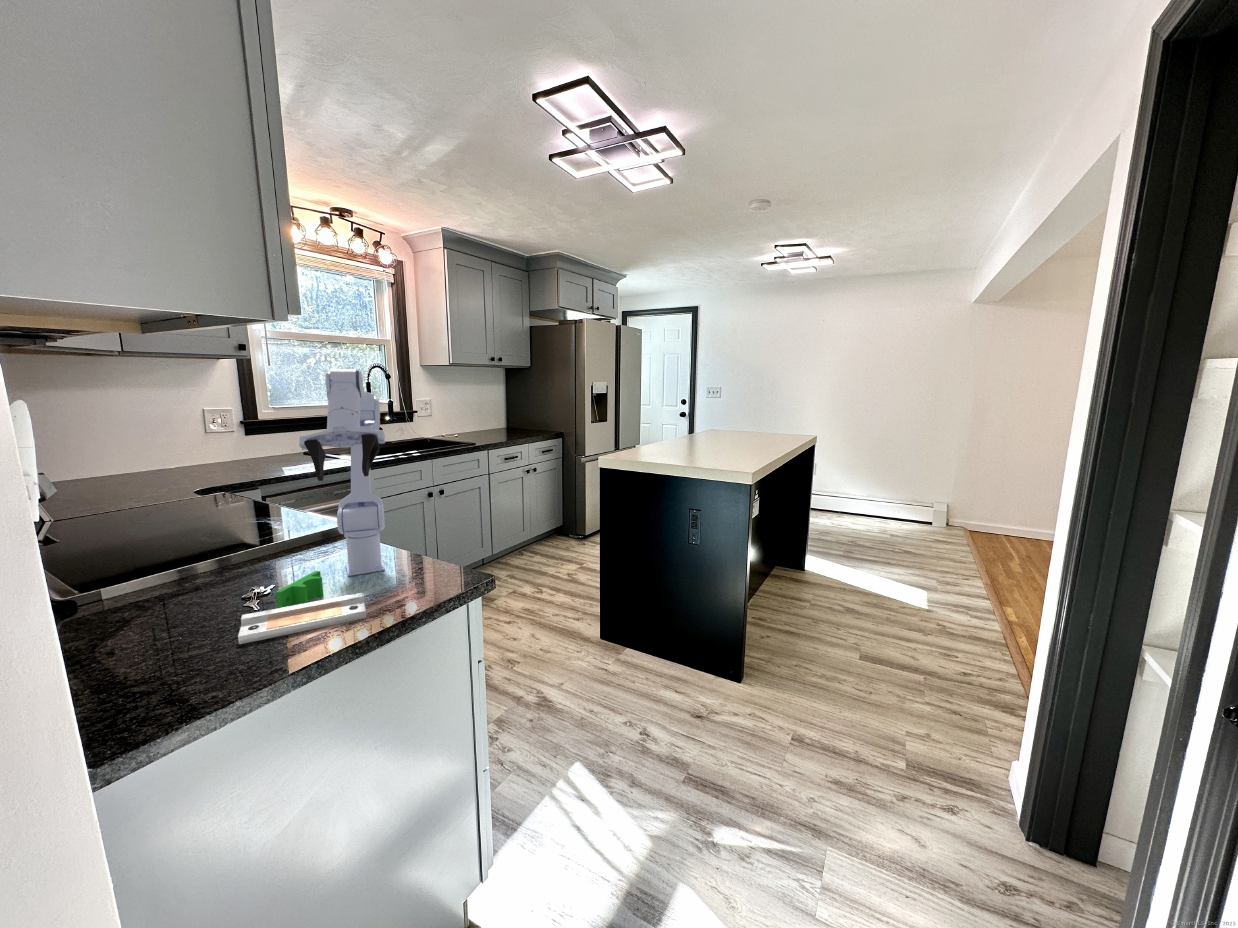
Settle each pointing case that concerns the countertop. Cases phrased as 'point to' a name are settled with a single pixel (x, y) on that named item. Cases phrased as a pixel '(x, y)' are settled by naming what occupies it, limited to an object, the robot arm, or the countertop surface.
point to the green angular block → (300, 591)
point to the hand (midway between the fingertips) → (342, 475)
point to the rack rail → (301, 617)
